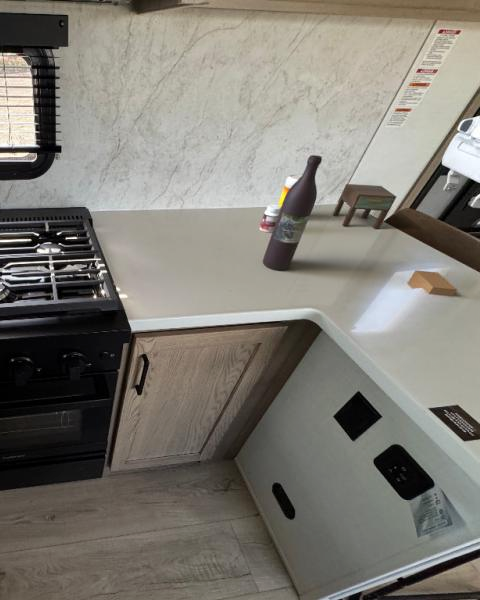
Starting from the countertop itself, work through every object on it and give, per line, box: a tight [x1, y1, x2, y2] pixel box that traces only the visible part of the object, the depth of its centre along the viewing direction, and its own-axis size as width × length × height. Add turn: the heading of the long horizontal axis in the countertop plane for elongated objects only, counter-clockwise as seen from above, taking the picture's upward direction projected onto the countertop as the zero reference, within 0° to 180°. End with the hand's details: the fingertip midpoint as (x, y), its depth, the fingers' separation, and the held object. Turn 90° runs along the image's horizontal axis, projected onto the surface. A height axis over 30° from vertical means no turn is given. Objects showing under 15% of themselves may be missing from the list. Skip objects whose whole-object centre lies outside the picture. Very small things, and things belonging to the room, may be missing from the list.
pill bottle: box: [259, 203, 281, 233], centre depth 117 cm, size 5×5×8 cm
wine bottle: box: [262, 154, 323, 271], centre depth 91 cm, size 7×7×30 cm
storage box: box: [407, 269, 458, 297], centre depth 87 cm, size 8×5×4 cm, turn 167°
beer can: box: [277, 174, 303, 207], centre depth 123 cm, size 6×6×15 cm
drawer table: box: [332, 183, 397, 230], centre depth 121 cm, size 12×11×12 cm
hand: (460, 198), depth 75 cm, fingers open, 8 cm apart
